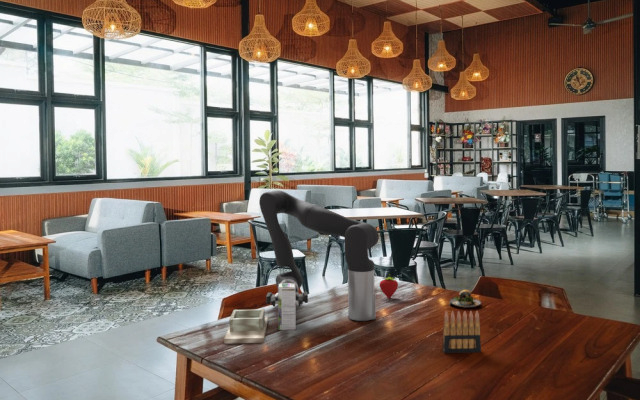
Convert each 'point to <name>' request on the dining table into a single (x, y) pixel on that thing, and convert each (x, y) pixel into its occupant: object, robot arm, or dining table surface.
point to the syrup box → (287, 306)
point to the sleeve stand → (247, 326)
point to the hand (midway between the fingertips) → (286, 303)
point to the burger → (464, 300)
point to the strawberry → (388, 286)
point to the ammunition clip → (461, 334)
